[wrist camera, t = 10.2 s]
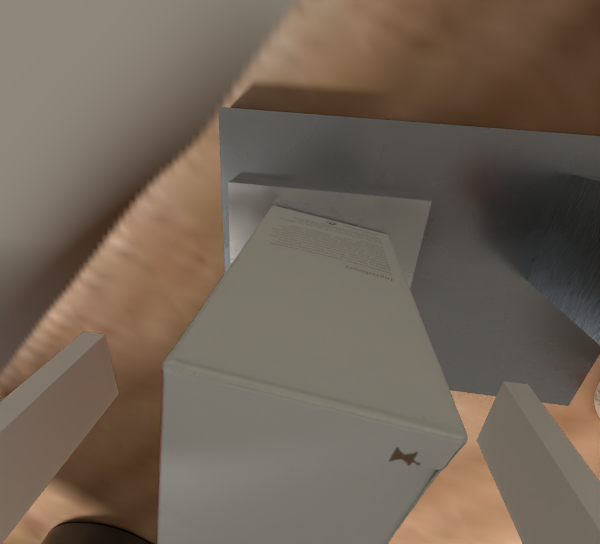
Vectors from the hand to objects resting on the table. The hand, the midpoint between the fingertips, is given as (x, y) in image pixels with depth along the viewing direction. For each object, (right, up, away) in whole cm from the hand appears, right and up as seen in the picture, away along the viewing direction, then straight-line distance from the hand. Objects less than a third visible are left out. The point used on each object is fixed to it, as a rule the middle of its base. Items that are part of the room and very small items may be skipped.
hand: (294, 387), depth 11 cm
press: (+6, +4, +7) cm, 10 cm away
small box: (+1, +3, +6) cm, 7 cm away
